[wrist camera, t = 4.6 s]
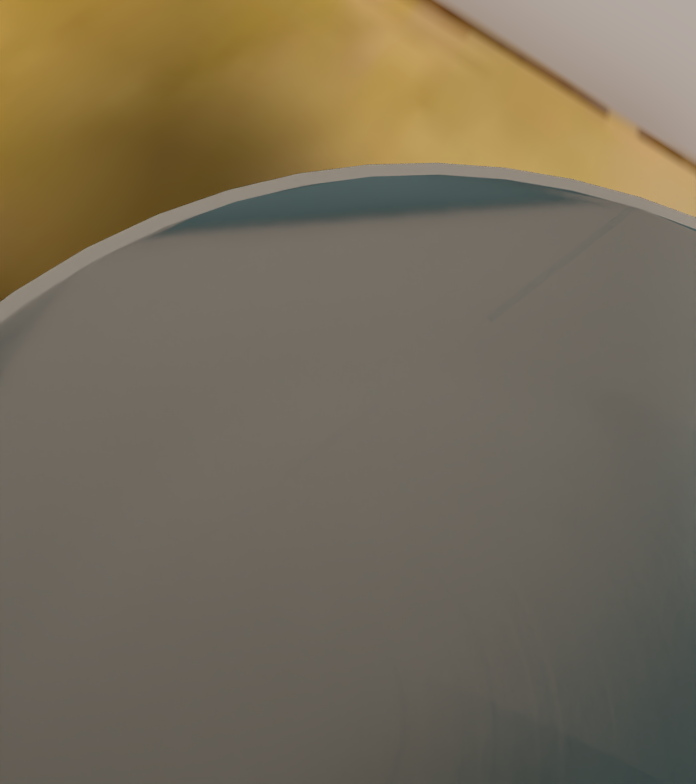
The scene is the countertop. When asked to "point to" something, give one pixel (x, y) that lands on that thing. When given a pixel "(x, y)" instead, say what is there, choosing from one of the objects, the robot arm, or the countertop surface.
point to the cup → (355, 489)
